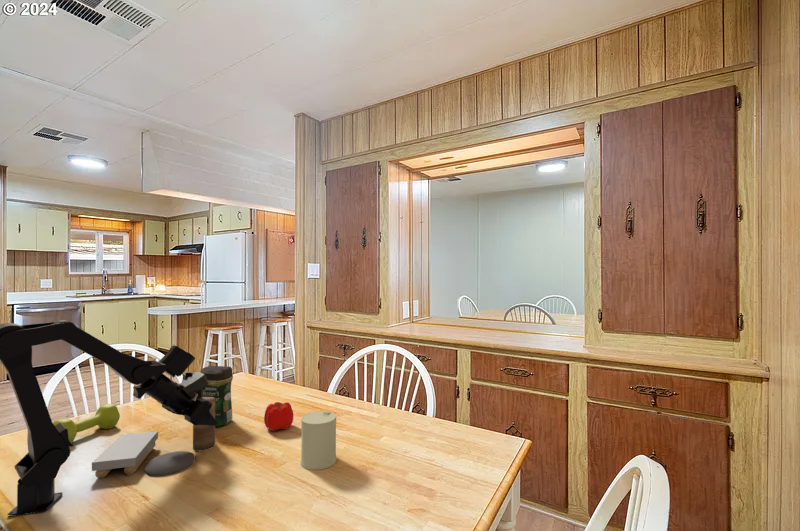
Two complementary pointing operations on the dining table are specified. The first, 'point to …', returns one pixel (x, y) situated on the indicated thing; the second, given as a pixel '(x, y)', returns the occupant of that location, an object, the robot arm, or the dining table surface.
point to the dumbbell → (92, 421)
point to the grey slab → (125, 453)
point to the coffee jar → (219, 391)
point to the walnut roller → (204, 432)
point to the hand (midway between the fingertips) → (207, 420)
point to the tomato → (278, 416)
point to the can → (318, 440)
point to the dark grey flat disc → (169, 463)
